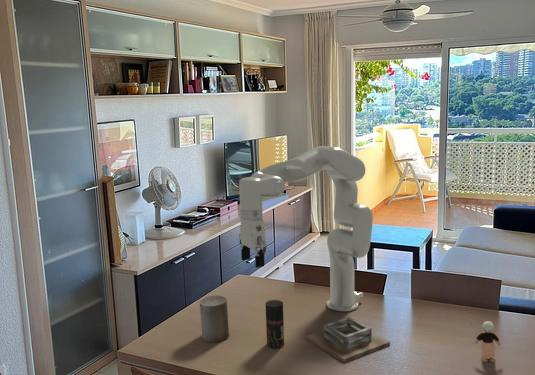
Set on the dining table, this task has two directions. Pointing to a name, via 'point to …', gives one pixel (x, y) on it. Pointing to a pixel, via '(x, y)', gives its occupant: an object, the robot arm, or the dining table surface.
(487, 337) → the grandmother figurine
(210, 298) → the pillar candle
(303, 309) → the dining table surface
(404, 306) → the dining table surface
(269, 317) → the deodorant
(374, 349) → the collar stand
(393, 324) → the dining table surface
